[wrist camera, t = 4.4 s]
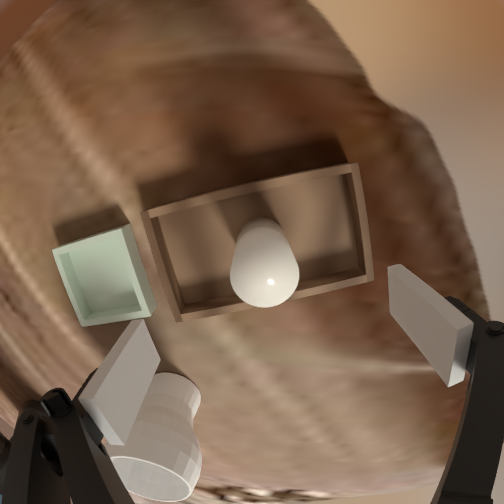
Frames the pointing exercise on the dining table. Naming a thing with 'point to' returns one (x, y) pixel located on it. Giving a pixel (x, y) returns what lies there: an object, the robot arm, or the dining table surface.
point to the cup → (162, 442)
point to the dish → (105, 277)
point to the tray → (273, 207)
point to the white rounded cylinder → (263, 264)
